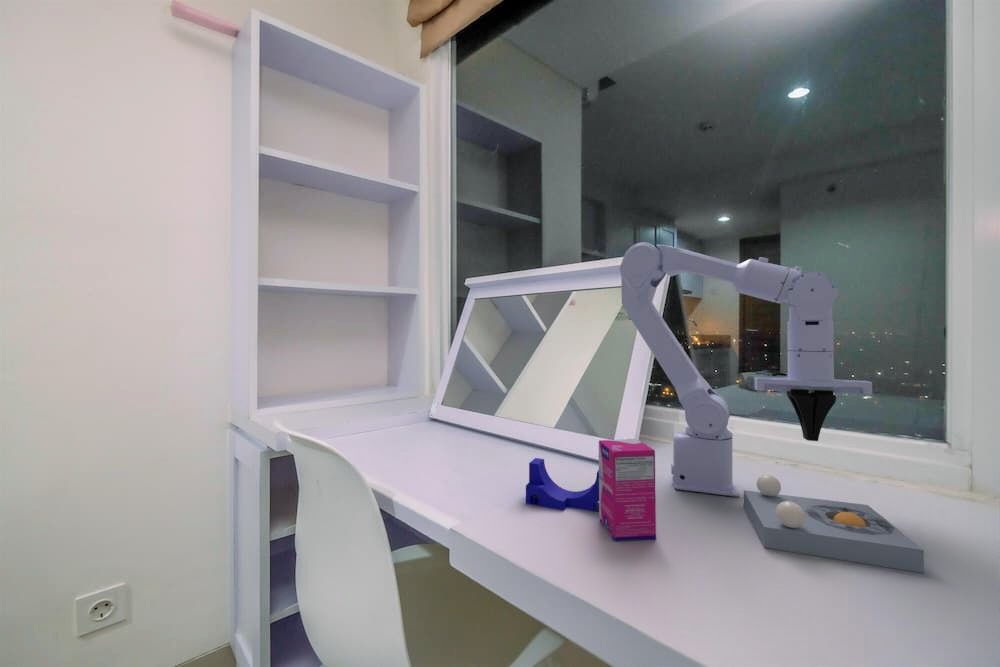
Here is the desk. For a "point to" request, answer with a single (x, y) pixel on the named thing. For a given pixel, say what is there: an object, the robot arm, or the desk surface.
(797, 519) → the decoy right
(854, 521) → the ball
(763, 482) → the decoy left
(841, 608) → the desk surface
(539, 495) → the blue curved bracket
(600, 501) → the supplement box
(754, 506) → the grey socket plate
